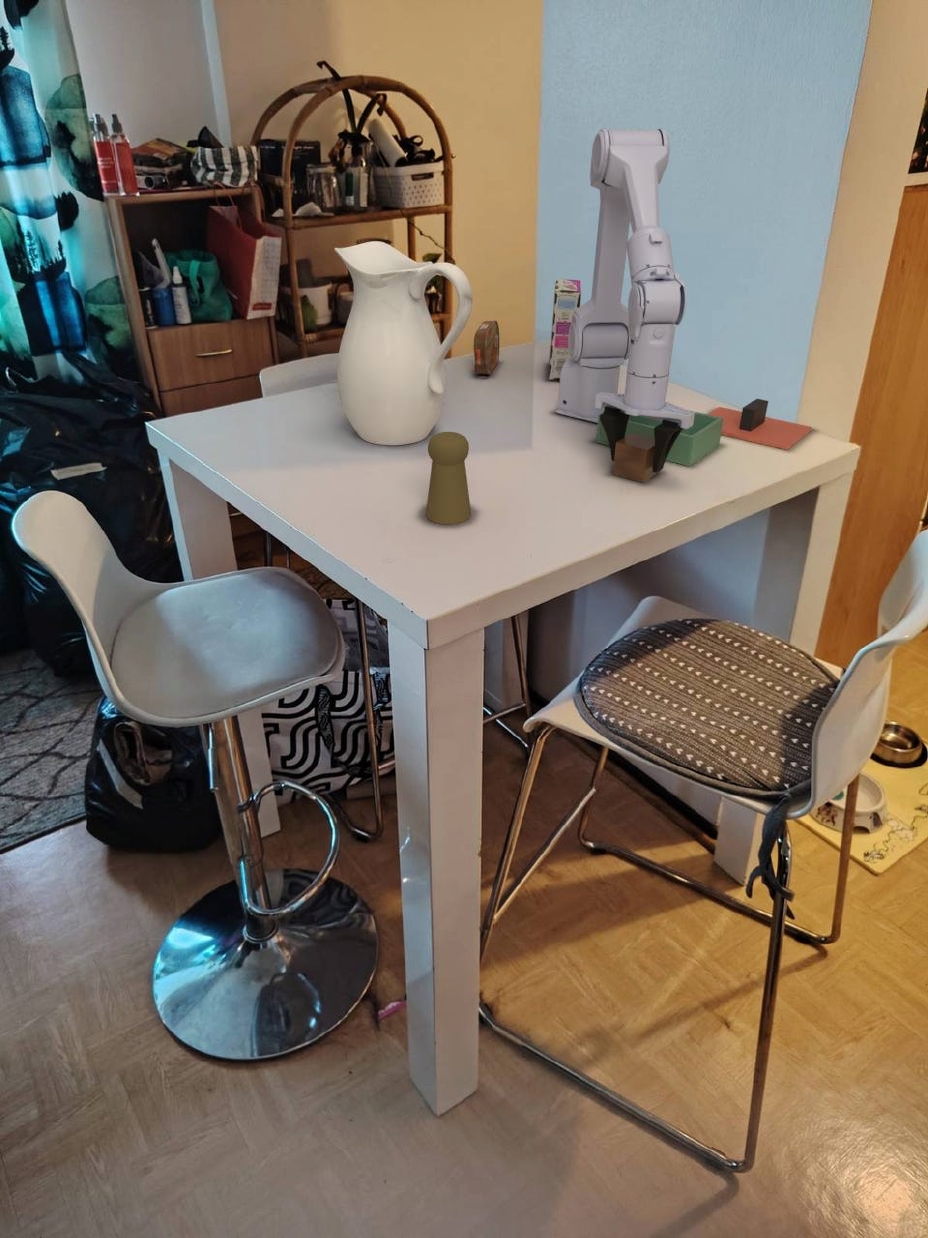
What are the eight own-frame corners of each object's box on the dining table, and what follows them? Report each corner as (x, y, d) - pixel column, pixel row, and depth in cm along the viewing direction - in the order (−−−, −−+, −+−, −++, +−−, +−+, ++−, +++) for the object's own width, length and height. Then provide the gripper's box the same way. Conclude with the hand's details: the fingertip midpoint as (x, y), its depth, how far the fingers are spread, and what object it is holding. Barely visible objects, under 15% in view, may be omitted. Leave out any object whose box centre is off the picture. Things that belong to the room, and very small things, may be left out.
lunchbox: (595, 442, 141) (598, 414, 139) (629, 423, 149) (631, 397, 146) (689, 466, 133) (693, 437, 131) (719, 445, 141) (724, 417, 138)
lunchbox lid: (691, 427, 147) (694, 402, 145) (718, 410, 155) (722, 386, 153) (787, 449, 139) (792, 424, 137) (811, 430, 147) (817, 405, 145)
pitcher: (319, 434, 143) (304, 248, 128) (395, 409, 154) (390, 235, 139) (424, 475, 129) (421, 272, 115) (500, 444, 140) (506, 256, 125)
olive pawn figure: (424, 505, 120) (423, 427, 115) (469, 504, 121) (470, 426, 115) (426, 525, 115) (425, 444, 109) (473, 523, 116) (474, 443, 110)
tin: (487, 380, 168) (488, 335, 164) (470, 379, 169) (471, 334, 164) (500, 358, 181) (501, 316, 176) (485, 357, 181) (486, 315, 177)
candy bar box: (574, 382, 168) (581, 291, 159) (548, 381, 168) (553, 290, 160) (574, 365, 177) (581, 278, 169) (549, 364, 178) (554, 277, 169)
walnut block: (612, 474, 130) (615, 442, 127) (628, 464, 134) (632, 432, 131) (643, 483, 128) (647, 450, 125) (659, 472, 131) (663, 440, 128)
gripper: (587, 368, 124) (579, 461, 131) (684, 389, 116) (670, 485, 123) (612, 357, 128) (603, 447, 136) (706, 376, 121) (692, 470, 128)
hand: (636, 464), depth 130 cm, fingers open, 6 cm apart
